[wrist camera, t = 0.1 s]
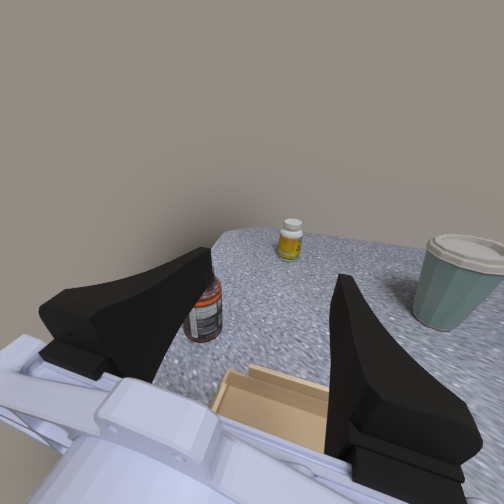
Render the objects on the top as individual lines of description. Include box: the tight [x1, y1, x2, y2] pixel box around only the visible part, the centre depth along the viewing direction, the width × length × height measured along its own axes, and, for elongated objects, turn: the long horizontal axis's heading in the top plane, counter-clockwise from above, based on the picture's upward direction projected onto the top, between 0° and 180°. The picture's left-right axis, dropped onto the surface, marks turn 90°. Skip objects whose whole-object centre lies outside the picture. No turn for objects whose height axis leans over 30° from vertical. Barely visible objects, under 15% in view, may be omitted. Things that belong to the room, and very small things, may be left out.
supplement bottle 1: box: [183, 267, 222, 342], centre depth 34 cm, size 6×6×11 cm
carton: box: [215, 368, 328, 454], centre depth 20 cm, size 14×18×4 cm
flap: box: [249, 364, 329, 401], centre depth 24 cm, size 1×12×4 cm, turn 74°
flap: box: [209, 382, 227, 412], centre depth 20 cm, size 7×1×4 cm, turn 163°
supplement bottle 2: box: [278, 219, 303, 262], centre depth 56 cm, size 5×5×10 cm
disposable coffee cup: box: [413, 234, 504, 331], centre depth 38 cm, size 11×11×15 cm
